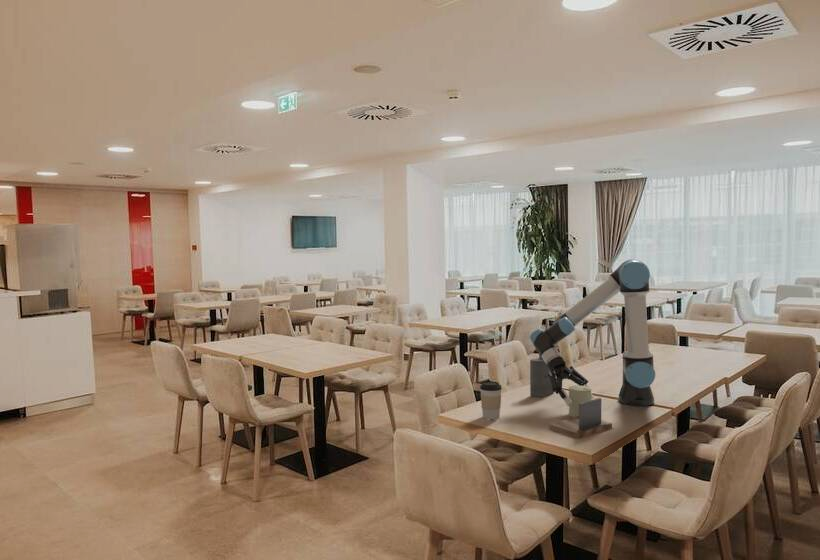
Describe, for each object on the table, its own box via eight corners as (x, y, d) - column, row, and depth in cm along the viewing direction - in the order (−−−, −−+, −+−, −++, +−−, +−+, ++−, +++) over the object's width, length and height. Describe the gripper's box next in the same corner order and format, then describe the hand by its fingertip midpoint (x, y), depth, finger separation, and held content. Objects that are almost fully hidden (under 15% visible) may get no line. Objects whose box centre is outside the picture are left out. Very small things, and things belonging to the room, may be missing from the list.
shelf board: (583, 419, 237) (583, 414, 237) (612, 428, 226) (612, 423, 226) (549, 428, 226) (549, 423, 226) (578, 438, 215) (578, 433, 215)
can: (585, 419, 237) (585, 390, 237) (564, 415, 244) (564, 387, 243) (595, 414, 244) (595, 386, 243) (574, 410, 250) (574, 383, 250)
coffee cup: (505, 419, 240) (505, 383, 239) (485, 421, 237) (485, 385, 236) (496, 413, 248) (496, 378, 247) (476, 415, 246) (476, 380, 245)
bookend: (599, 423, 226) (599, 398, 225) (605, 425, 224) (605, 399, 223) (578, 429, 219) (578, 403, 219) (585, 431, 217) (585, 405, 216)
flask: (538, 398, 270) (537, 356, 269) (528, 396, 274) (528, 354, 273) (557, 393, 280) (557, 352, 278) (547, 390, 284) (547, 350, 283)
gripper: (568, 361, 263) (595, 401, 252) (529, 369, 249) (555, 411, 238) (577, 352, 259) (605, 391, 247) (538, 359, 245) (565, 401, 233)
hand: (581, 401), depth 243 cm, fingers open, 13 cm apart
